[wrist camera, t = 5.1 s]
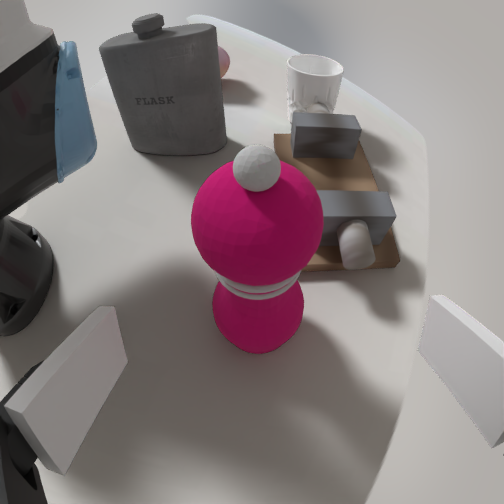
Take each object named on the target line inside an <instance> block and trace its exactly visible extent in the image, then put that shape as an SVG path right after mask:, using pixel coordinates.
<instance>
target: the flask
mask: <svg viewBox="0 0 504 504" xmlns="http://www.w3.org/2000/svg"><path fill="white" fill-rule="evenodd" d="M163 25H164V20H163V16H162V15H160V14H157V13H156V14H149V15H145V16H142V17H139V18H137V19H136V20H135V21H134V22H133V23H132V27H133V31H134V32H131V33H126V34H121V35H118V36H116V37H113V38H111V39H109V40H107V41H106V42H104V43H103V44H102V45H101V46H100V47H99V51H100V54H101V57H102V61H103V64H104V67H105V70H106V73H107V76H108V79H109V83H110V86H111V89H112V91H113V94H114V97H115V100H116V103H117V106H118V109H119V112H120V115H121V117H122V120H123V123H124V126H125V128H126V131H127V134H128V136H129V139H130V142H131V144H132V147H133V148H134V149H135V150H138V151H140V152H145V153H151V154H160V155H200V154H208V153H212V152H215V151H218V150H219V149H221V148H222V147H224V145H225V144H226V141H227V136H226V127H225V117H224V107H223V97H222V86H221V76H220V66H219V55H218V44H217V33H216V27H215V26H213V25H210V24H205V23H204V24H190V25H183V26H177V27H169V28H162V26H163Z"/></svg>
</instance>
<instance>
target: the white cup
mask: <svg viewBox="0 0 504 504" xmlns="http://www.w3.org/2000/svg"><path fill="white" fill-rule="evenodd" d="M343 71H344V69H343V67H342V65H341V64H339V63H338V62H336V61H335V60H332V59H330V58H327V57H323V56H319V55H311V54H302V55H295V56H292V57H290V58H289V59H288V60H287V103H288V119H289V121H290V123H291V124H292V116H293V112H302V113H307V109H308V107H309V106H310V105H311V104H313V103H317V102H319V103H323V104H325V105H326V106H327V107H328V110H329V112H330V114H333V111H334V108H335V105H336V101H337V97H338V94H339V89H340V85H341V80H342V76H343Z"/></svg>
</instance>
